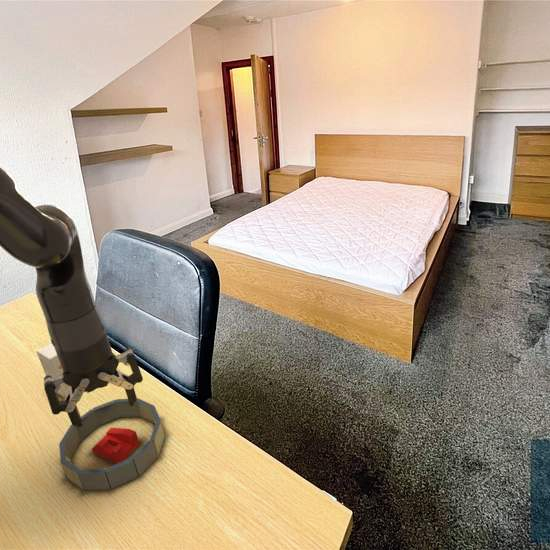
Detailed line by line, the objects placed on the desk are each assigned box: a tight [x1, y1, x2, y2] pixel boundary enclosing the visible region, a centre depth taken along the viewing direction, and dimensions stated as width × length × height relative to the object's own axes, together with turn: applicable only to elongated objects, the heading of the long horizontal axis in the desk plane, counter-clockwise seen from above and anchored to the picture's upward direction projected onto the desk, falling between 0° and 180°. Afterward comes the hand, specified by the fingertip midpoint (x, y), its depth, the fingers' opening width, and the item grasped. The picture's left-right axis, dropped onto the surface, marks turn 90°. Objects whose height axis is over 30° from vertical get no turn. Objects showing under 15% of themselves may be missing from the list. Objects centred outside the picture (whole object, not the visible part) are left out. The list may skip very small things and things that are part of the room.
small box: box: [36, 342, 70, 399], centre depth 89 cm, size 8×6×10 cm
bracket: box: [91, 427, 140, 464], centre depth 73 cm, size 6×5×3 cm
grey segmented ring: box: [58, 398, 165, 491], centre depth 73 cm, size 17×17×4 cm
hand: (106, 413), depth 70 cm, fingers open, 8 cm apart
